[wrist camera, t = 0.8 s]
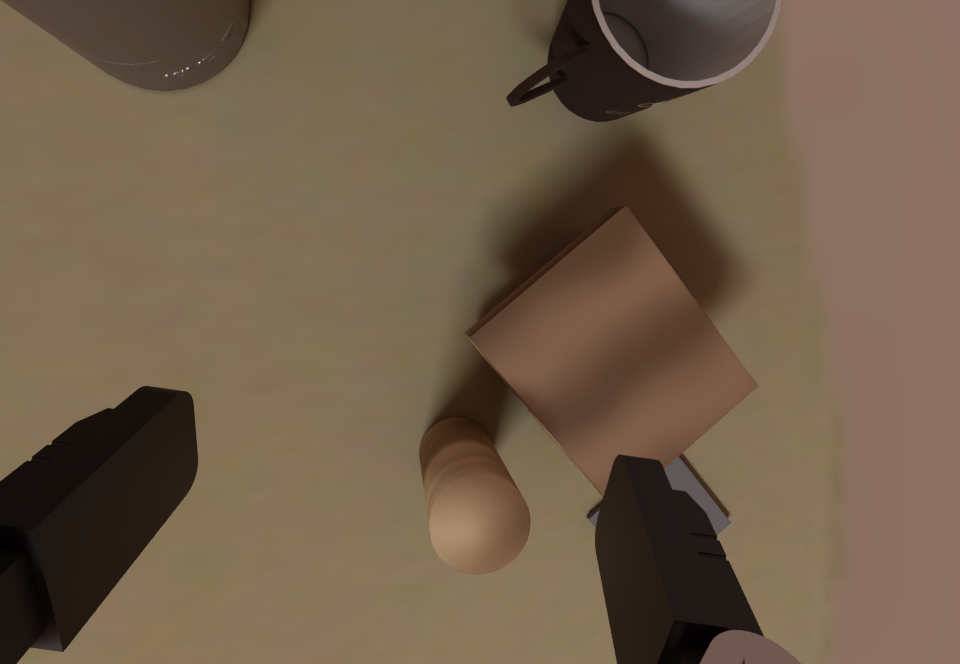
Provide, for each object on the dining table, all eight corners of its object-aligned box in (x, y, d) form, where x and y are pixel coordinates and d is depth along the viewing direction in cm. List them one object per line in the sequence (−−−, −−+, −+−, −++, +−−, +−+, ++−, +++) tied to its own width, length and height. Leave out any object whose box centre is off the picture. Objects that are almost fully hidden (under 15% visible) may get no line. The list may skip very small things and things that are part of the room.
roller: (404, 449, 34) (408, 524, 24) (460, 401, 34) (487, 456, 24) (450, 500, 34) (474, 594, 25) (505, 453, 35) (550, 527, 25)
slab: (455, 324, 33) (470, 337, 27) (582, 216, 34) (626, 205, 27) (576, 467, 35) (616, 511, 29) (694, 365, 36) (758, 386, 30)
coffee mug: (664, -16, 33) (780, -137, 23) (673, 136, 34) (787, 82, 24) (469, -9, 31) (504, -136, 21) (485, 150, 32) (525, 98, 22)
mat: (586, 516, 36) (588, 519, 35) (668, 444, 36) (671, 446, 36) (649, 589, 37) (652, 593, 37) (727, 520, 37) (731, 522, 37)
